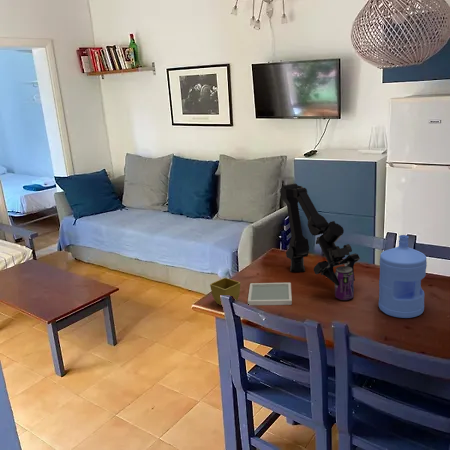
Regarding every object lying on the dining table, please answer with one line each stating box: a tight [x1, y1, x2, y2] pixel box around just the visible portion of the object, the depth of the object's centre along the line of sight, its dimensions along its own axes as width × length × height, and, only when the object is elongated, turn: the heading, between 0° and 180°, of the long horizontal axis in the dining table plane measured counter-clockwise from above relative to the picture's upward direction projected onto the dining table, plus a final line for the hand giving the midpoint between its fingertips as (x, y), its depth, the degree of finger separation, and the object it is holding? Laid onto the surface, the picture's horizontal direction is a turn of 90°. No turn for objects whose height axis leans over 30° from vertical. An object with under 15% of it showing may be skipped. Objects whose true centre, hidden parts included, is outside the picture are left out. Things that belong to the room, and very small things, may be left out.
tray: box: [247, 282, 293, 306], centre depth 190 cm, size 17×17×2 cm
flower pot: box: [209, 277, 241, 306], centre depth 184 cm, size 9×9×9 cm
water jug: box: [378, 234, 428, 319], centre depth 168 cm, size 16×16×28 cm
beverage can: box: [334, 265, 355, 301], centre depth 182 cm, size 7×7×12 cm
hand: (346, 283), depth 180 cm, fingers closed on beverage can, 7 cm apart
